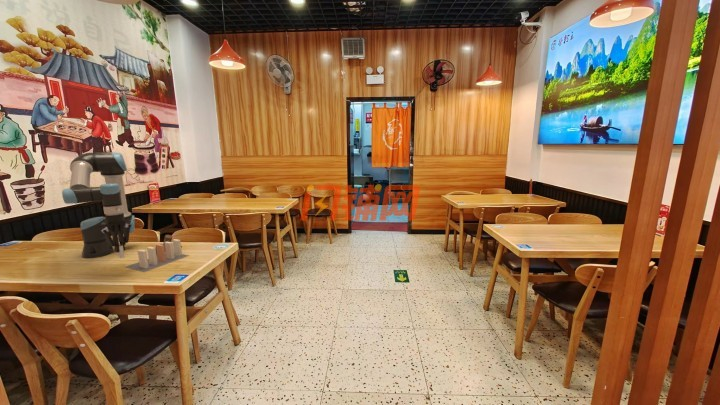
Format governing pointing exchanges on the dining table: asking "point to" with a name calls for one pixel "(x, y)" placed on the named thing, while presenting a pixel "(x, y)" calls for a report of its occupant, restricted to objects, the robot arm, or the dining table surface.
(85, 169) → the robot arm
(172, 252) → the domino
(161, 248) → the domino
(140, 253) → the domino
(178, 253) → the domino
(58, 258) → the dining table surface
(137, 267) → the mat
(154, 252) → the domino
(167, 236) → the brown irregular block
